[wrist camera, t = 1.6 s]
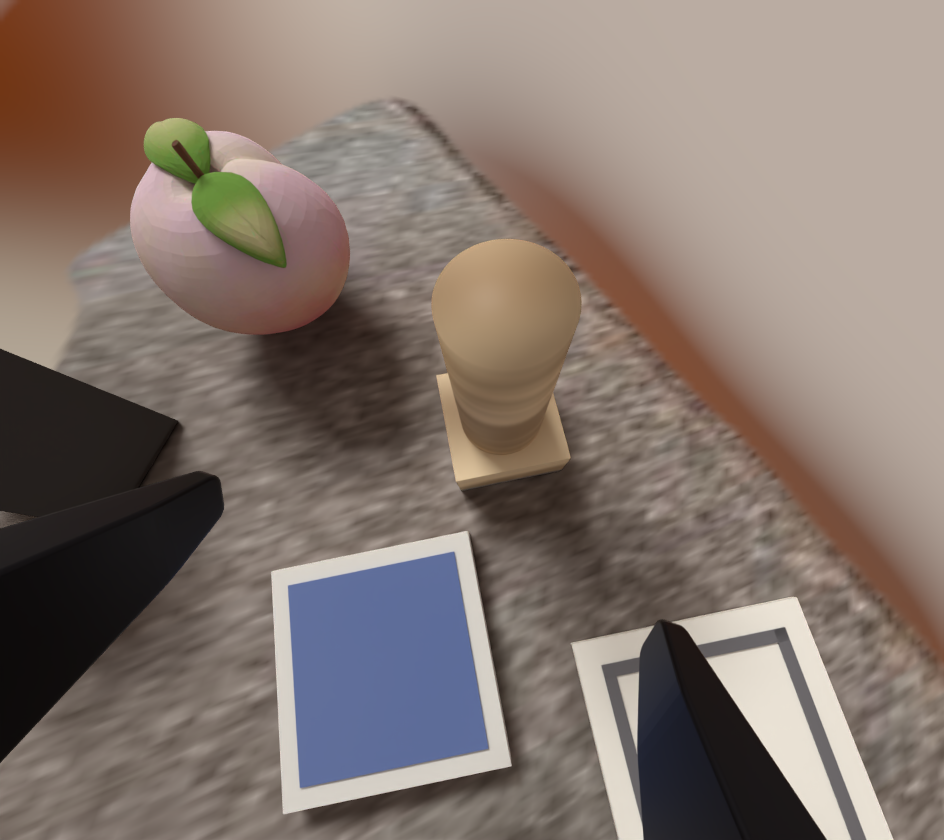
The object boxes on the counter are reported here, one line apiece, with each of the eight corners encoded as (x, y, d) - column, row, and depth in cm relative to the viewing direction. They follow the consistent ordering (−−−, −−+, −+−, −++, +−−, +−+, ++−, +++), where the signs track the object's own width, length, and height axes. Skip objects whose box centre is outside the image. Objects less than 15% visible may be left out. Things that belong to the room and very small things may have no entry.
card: (905, 882, 16) (914, 890, 15) (641, 938, 16) (645, 947, 15) (792, 596, 19) (798, 597, 18) (571, 642, 19) (572, 644, 18)
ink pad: (510, 752, 18) (511, 767, 16) (296, 796, 17) (282, 815, 16) (469, 532, 20) (467, 530, 19) (284, 569, 20) (270, 571, 19)
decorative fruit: (190, 310, 25) (-1, 159, 15) (290, 218, 26) (175, 31, 17) (299, 404, 23) (156, 298, 13) (401, 298, 24) (340, 135, 15)
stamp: (560, 470, 21) (639, 373, 9) (461, 490, 21) (420, 418, 9) (536, 379, 22) (579, 199, 11) (444, 397, 22) (389, 237, 11)
